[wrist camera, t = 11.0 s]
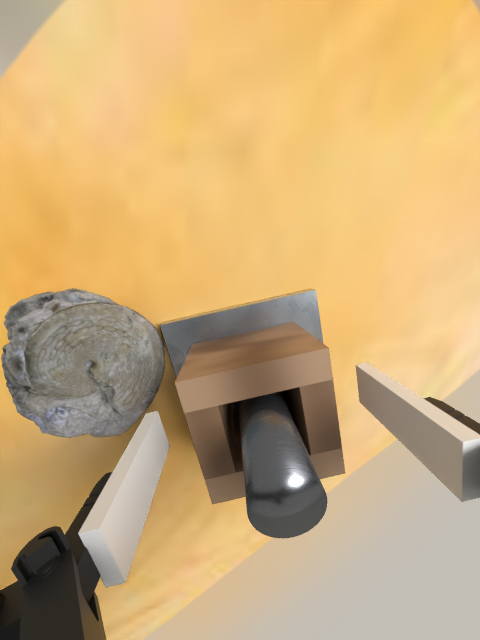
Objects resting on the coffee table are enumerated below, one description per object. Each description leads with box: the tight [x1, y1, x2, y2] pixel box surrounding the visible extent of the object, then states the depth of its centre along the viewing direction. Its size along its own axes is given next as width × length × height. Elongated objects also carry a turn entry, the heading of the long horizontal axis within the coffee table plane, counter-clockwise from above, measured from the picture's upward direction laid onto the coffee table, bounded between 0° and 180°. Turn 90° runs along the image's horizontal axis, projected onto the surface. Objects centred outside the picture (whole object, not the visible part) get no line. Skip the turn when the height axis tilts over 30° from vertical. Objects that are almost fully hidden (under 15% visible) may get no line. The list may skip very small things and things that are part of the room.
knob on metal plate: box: [160, 289, 327, 538], centre depth 13 cm, size 12×12×11 cm
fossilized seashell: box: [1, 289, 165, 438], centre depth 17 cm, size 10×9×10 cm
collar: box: [175, 322, 345, 504], centre depth 15 cm, size 8×8×6 cm
